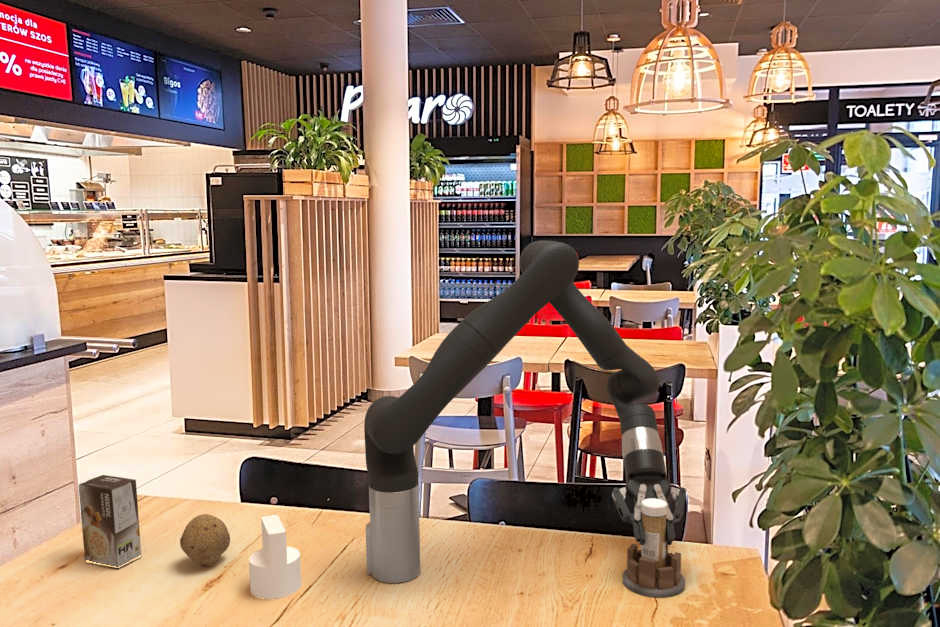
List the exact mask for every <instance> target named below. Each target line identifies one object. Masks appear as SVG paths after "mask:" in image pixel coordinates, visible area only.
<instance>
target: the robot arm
mask: <svg viewBox="0 0 940 627" xmlns="http://www.w3.org/2000/svg"><path fill="white" fill-rule="evenodd" d="M519 268H520V272H521V274H520V276H519V277H518V278H517V279H516V280H515V281H514V282H513V283H512V284H511V285H510V286H509V287H508V288H507V289H506V290H504V291H502V292H501V293H499V294H498V295H496V296H495V297H493V298H491V299H489V300H487V301H486V302H485V303H483V304H481V305H480V306H478V307H477V308H475V309H474V310H473V311H471V312H470V313H468V314H467V315H466V316H465V317H464V318H463V319H461V321H460V322H459V323H458V324H456V325H455V327H454V328H453V329H452V330H451V331H450V332H449V333H448V334H447V335H446V337H445V338H444V339H443V340H442V341H441V342H440V345H439V346H438V347H437V348H436V350H435V352H434V353H433V356H432V357H431V359H430V361H429V363H428V365H427V366H426V368H425V370H423V373H422V375H420V376H419V378H418V379H417V380H416V381H415V382H414V383H413V384H412V385H411V386H410V387H409V388H408V389H407V390H406V391H404V393H403V394H401V395H400V396H399V397H397V396H392V395H387V396H386V395H385V396H382V397H379V398H377V399H376V400H374V401H373V402H372V403H371V404H370V405H369V407H368V408H367V409H366V410H367V411H366V413H365V415H364V416H365V417H364V423H363V424H364V425H363V428H364V429H363V430H364V448H365V449H364V450H365V452H364V453H365V464H366V466H365V467H366V472H367V477H368V499H369V500H368V501H369V502H368V503H369V504H368V505H369V522H367V523H366V525H365V548H366V549H365V551H366V554H365V555H366V556H365V557H366V574H368V575H371V577H372V578H373V579H375V580H376V581H378V582H381V583H382V582H383V583H388V584H399V583H404V582H408V581H411V580H413V579H415V578H417V577H418V576H419V575H420V574H421V536H420V533H421V532H420V531H421V530H420V527H421V526H420V491H419V489H420V488H419V487H420V485H419V470H418V466H417V462H416V457H415V450H414V446H415V445H416V444H417V443H418V442H419V440H420V439H421V438H422V437H423V436H424V434H425V433H426V432H427V430H428V429H429V427H431V425H432V424H433V422H435V420H436V419H437V417H439V415H440V414H441V412H442V411H444V409H445V408H446V407H447V405H449V403H451V402H452V400H454V398H456V396H458V395H459V394H460V393H461V392H462V390H464V388H466V387H467V386H468V385H469V384H470V383H471V382H472V381H473V380H474V378H475V377H477V376H478V375H479V374H480V373H481V372H482V371H483V370H484V369H486V367H487V366H488V365H489V364H490V363H491V362H492V361H493V360H494V358H496V356H498V355H499V354H500V352H501V351H502V350H503V349H504V348H505V347H506V345H508V344H509V343H510V342H511V340H512V339H513V338H514V337H516V335H517V334H518V333H520V331H521V330H522V329H523V328H524V327H525V326H526V324H527V323H528V322H529V321H531V319H532V318H533V317H535V315H536V314H537V313H538V312H539V311H540V310H542V309H543V308H544V307H545V306H546V305H548V304H550V305H551V306H552V307H553V308H554V310H556V312H557V313H558V314H559V315H560V316H561V318H562V319H563V320H564V321H565V323H566V324H567V325H568V326H569V328H570V329H571V331H572V332H573V334H575V336H576V337H577V339H578V340H579V341H580V342H581V344H582V345H583V347H584V348H585V350H586V351H587V352H588V354H589V355H590V356H591V358H592V359H593V361H594V362H595V363H596V365H597V366H598V367H599V369H601V370H603V371H615V370H617V371H615V372H613V373H611V374H610V375H609V376H608V378H607V380H606V386H605V388H606V392H607V393H608V395H609V398H610V400H611V401H612V404H613V406H614V409H615V411H616V414H617V417H618V419H619V424H620V433H621V434H620V435H621V450H622V454H621V455H622V458H623V465H624V473H625V480H626V483H625V486H623V487H621V488H618V487H614V488H613V490H612V492H611V498H612V500H613V503H614V505H615V508H616V509H617V512H618V513H619V516H620V518H621V520H622V522H624V523H629V524H631V525H632V526H633V527H632V528H633V533H634V539H635V542H637V543H638V544H639V546H641V545H644V543H645V536H644V529H643V522H642V512H641V502H642V501H643V500H645V499H650V498H655V499H660V500H663V501H665V502H666V503H667V514H666V544H667V545H668V546H671V545H672V544H673V543H674V542H675V539H676V532H675V526H674V524H675V523H679V522H681V519H682V517H683V514H684V510H685V509H684V508H685V501H686V495H687V489H686V488H685V487H684V486H681V487H680V488H678V487H674V486H672V484H670V482H669V480H668V474H667V469H666V463H665V458H664V457H665V456H664V451H663V446H662V442H661V438H660V435H659V431H658V430H659V429H658V424H657V423H658V422H657V417H656V413H655V410H654V408H653V407H652V406H650V405H649V404H645V403H636V402H638V401H640V400H643V399H644V398H645V399H646V398H648V397H651V396H652V395H655V394H657V392H658V390H659V388H660V378H659V375H658V372H657V371H656V369H655V368H654V367H653V366H652V364H650V363H649V362H648V361H647V360H646V359H645V358H643V357H641V356H640V355H639V354H638V353H636V352H635V350H633V349H632V348H631V347H630V346H628V344H626V342H625V341H624V339H623V338H622V337H621V335H620V334H619V332H618V331H617V330H616V328H615V327H614V326H613V324H612V323H611V321H609V320H608V318H607V317H606V316H605V315H604V314H603V313H602V312H601V311H600V310H599V309H598V308H597V307H596V306H595V305H594V304H593V303H592V302H590V300H588V299H587V298H586V296H585V295H584V294H583V293H582V292H581V291H580V290H579V288H578V287H577V285H576V284H575V283H574V280H575V279H576V277H577V274H578V272H579V268H580V258H579V255H578V253H577V251H576V250H575V249H574V247H572V245H569V244H567V243H565V242H562V241H555V240H541V239H540V240H535V241H533V242H530V243H529V244H527V245H526V246H525V247H524V248H523V250H522V251H521V254H520V257H519ZM670 494H671V496H672V499H673V501H675V507H674V512H673V513H672V512H671V509H670V506H669V502H668V501H667V498H668V497H669V495H670ZM626 495H627V497H629V498H630V499H631V501H632V502H633V503H634V508H633V510H634V511H633V513H632V512H630V509H629V507H628V504H627V503H626V501H625V500H626Z"/></svg>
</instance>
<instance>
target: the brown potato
mask: <svg viewBox="0 0 940 627" xmlns="http://www.w3.org/2000/svg"><path fill="white" fill-rule="evenodd" d="M230 543H231V535H230V533H229V530H228V527H227V526H226V524H225V522H223V520H221V519H220V518H218V517H217V516H215V515H213V514H205V513H204V514H199V515H197V516H195V517H193V518H192V519H191V520H189V522H188V523H187V525H186V526H185V528H184V530H183V532H182V534H181V536H180V539H179V546H180V549H181V550H182V551H183V553H184V554H185V555H186V556H187V557H188V558H190V559H191V560H192V561H194V562H196V563H198V564H199V565H201V566H204V565H210V566H212V565H214V564H215V563H216V562H217V561H218V559H219V558H220V557H221V556H222V555H223V554H224V553H225V552H226V551H227V550H228V548H229V547H230ZM211 564H212V565H211Z"/></svg>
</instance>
